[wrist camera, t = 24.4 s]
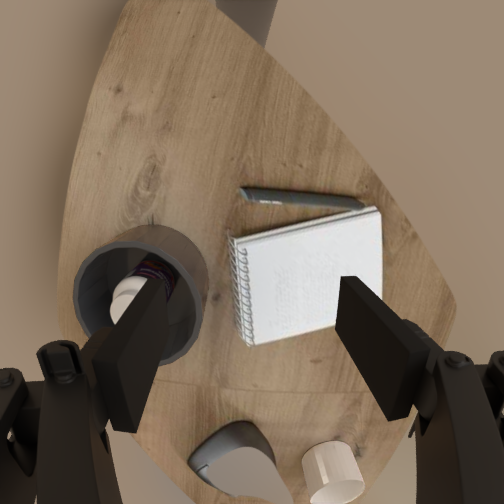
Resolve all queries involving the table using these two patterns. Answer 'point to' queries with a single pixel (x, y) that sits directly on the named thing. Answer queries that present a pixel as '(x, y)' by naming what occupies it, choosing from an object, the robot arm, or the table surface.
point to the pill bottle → (139, 285)
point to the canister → (124, 261)
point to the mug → (332, 473)
